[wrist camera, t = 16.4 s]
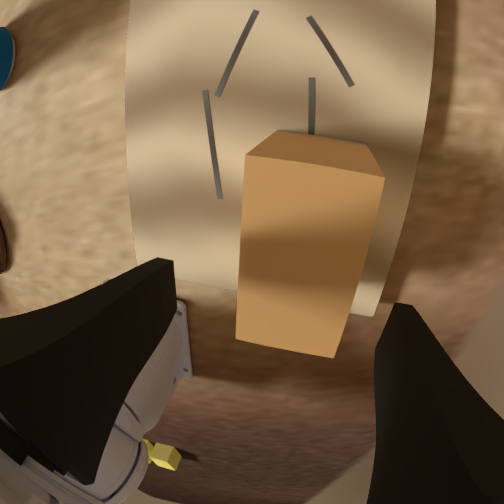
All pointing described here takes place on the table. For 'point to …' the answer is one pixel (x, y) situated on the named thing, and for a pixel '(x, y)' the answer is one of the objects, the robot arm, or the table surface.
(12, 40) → the beverage can
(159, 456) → the yellow blocky part
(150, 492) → the table surface
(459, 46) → the table surface
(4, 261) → the skull
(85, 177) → the table surface
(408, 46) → the maple board
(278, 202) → the block
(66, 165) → the table surface
